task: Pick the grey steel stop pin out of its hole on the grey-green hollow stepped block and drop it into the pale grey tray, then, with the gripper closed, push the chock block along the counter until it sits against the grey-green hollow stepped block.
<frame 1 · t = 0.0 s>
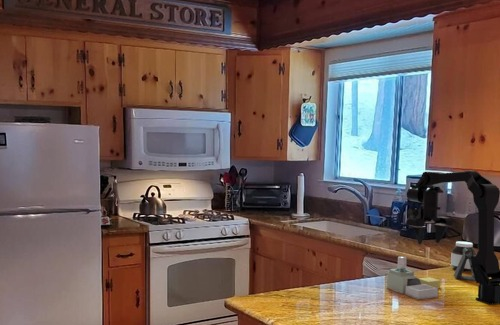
hand: (428, 243, 197), 15 cm above the countertop, tool pointing down, fingers open, 9 cm apart
tray: (421, 295, 175), on the countertop
spread jar: (461, 268, 222), on the countertop
grey-green hollow stepped block: (404, 289, 183), on the countertop
pin: (401, 273, 182), point 6 cm above the countertop, touching grey-green hollow stepped block
chock: (428, 287, 188), on the countertop
phone stand: (466, 279, 203), on the countertop
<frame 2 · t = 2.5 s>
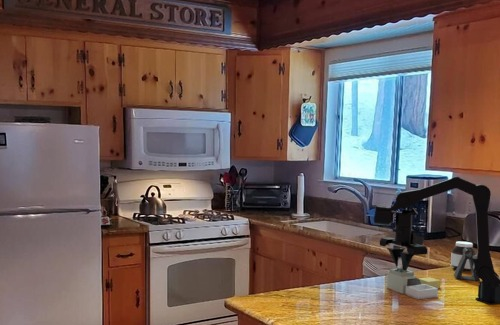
hand: (401, 269, 182), 7 cm above the countertop, tool pointing down, fingers closed on pin, 3 cm apart
pin: (401, 273, 182), point 6 cm above the countertop, touching grey-green hollow stepped block, gripper
everything else where it was.
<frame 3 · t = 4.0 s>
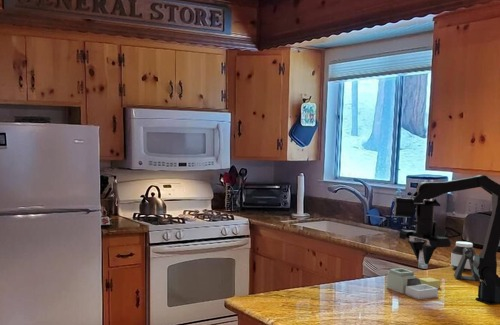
hand: (423, 263, 175), 12 cm above the countertop, tool pointing down, fingers closed on pin, 3 cm apart
pin: (422, 267, 175), point 10 cm above the countertop, touching gripper
everything else where it was.
when the fingers open (4 cm above the countertop, at t = 5.5 s): pin drops 1 cm, resting on tray.
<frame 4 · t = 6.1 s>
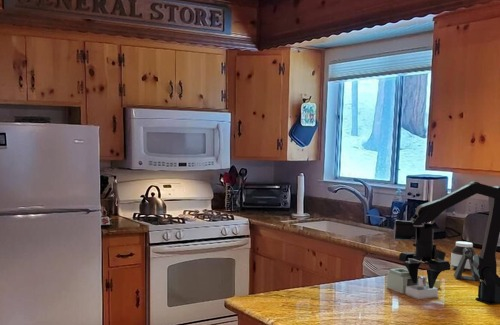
hand: (422, 285, 175), 4 cm above the countertop, tool pointing down, fingers open, 7 cm apart
pin: (421, 294, 175), point 1 cm above the countertop, touching tray
everything else where it was.
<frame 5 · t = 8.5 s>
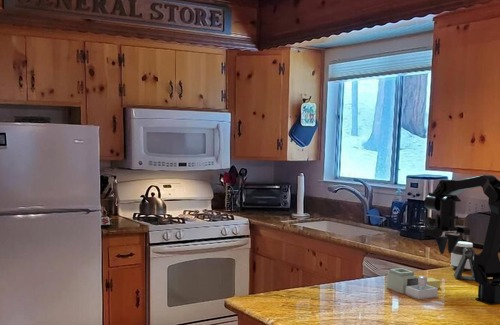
hand: (445, 253, 191), 12 cm above the countertop, tool pointing down, fingers open, 4 cm apart
nothing on the countertop moved.
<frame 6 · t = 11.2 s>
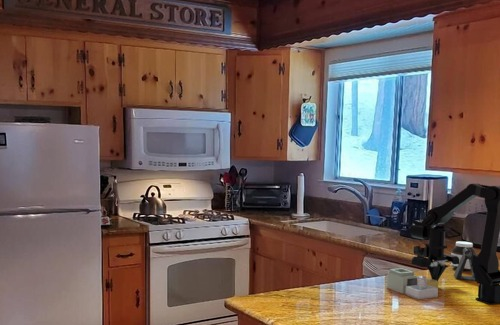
hand: (434, 283, 189), 1 cm above the countertop, tool pointing down, fingers closed
chock: (427, 288, 187), on the countertop, touching gripper
everything else where it was.
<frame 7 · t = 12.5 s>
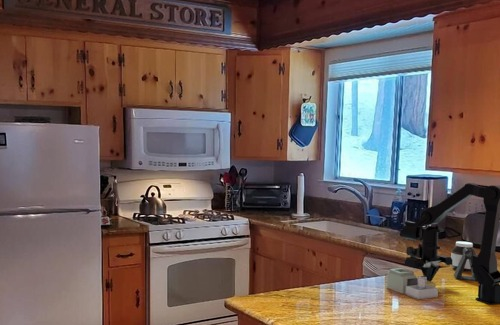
hand: (427, 284, 188), 1 cm above the countertop, tool pointing down, fingers closed
chock: (424, 290, 184), on the countertop
everything else where it was.
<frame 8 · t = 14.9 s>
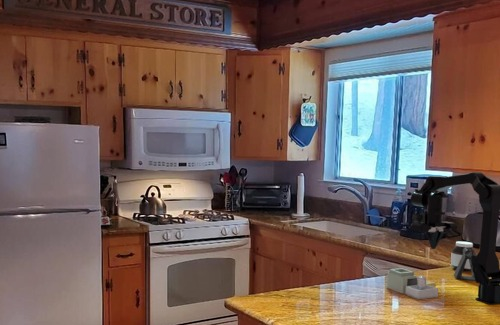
hand: (433, 248, 194), 13 cm above the countertop, tool pointing down, fingers closed
nothing on the countertop moved.
at the end: chock 2.4 cm from the target spot, on the countertop; pin inside the target area on the tray (0.0 cm from its centre), point 0.6 cm above the tray's base; the gripper is holding nothing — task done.
